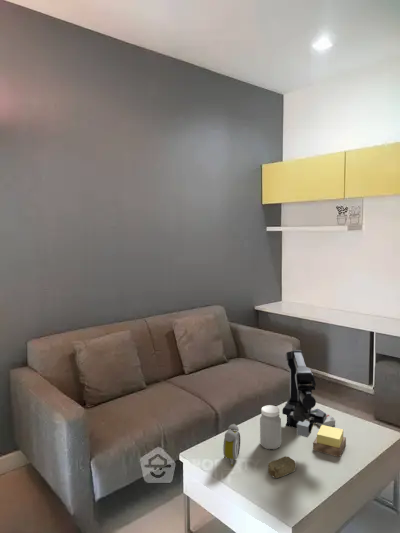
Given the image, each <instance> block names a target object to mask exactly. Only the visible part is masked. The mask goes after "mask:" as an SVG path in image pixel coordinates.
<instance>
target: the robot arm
mask: <svg viewBox="0 0 400 533" xmlns="http://www.w3.org/2000/svg"><path fill="white" fill-rule="evenodd" d="M304 356H305V354H304V352H303V350H301V349H293V350H291V351H288V352H285V356H284V358H285V361H286V364H287V366H288V368H289V395H288V397H287V398H286V403H284V404H285V405H284V407H282V410H281V411H282V414H283V415H284V416H285V415H286V423H285V426H286V427H290V428H294V429H297V423H298V422H299V421H301V422H304V421H308V420H309V423H310V425H309V433H312V430H313V428H314V425H315V424H316V423H320V424H323V423H324V422H325V420H326V419H327V415H326V413H327V412H326V413H324V412H325V411H324V412H320V411H317V413H311V409H314V407H316V405H317V401H316V399H315V396H314V395H313V392H312V391H315V390H316V386H317V383H316V378H315V376H314V374H313V373H312V371H311V369H310V368H309V367H307V365H306V363H305V357H304ZM310 417H311V420H310V419H309V418H310Z"/></svg>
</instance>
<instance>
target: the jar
mask: <svg viewBox="0 0 400 533" xmlns="http://www.w3.org/2000/svg"><path fill="white" fill-rule="evenodd" d="M260 409H261V416H260V418H259V439H260V440H259V442H260V445H261V446H262V447H263V448H264V447H265V448H264V449H267V450H270V449H273V450H277V449H278V447H279V448H280V446H281V444H282V418H281V417H280V408H279V407H278V406H275V405H272V404H268V405H264V406H262V407H261V408H260Z"/></svg>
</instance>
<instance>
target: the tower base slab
mask: <svg viewBox="0 0 400 533" xmlns="http://www.w3.org/2000/svg"><path fill="white" fill-rule="evenodd" d="M346 445H347V437H345V436H343V440H342V442H341V445H340V447H339V448H337V447H333V446H329V445H325V444H321V443H317V436H316V437H315V439H314V440H313V442H312V450H313V451H316V452H319V453H323V454H327V455H331V456H333V457H338V458H340V457H341V456H342V453H343V451H344V449H345V447H346Z"/></svg>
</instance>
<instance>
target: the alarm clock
mask: <svg viewBox="0 0 400 533" xmlns="http://www.w3.org/2000/svg"><path fill="white" fill-rule="evenodd" d="M239 430H240V429H239V426H237V425H236V424H235V423H233V424H230V425H229V426H228V427H227V431H226V432H225V434H224V439H223V445H222V446H223V447H222V450H223V457H224V458H225V459H230V461H229V462H230V466H231V467H233V466H234V461H235V460H237V459H238V458H239V455H240V450H241V432H240V431H239ZM224 458H223V459H224Z"/></svg>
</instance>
